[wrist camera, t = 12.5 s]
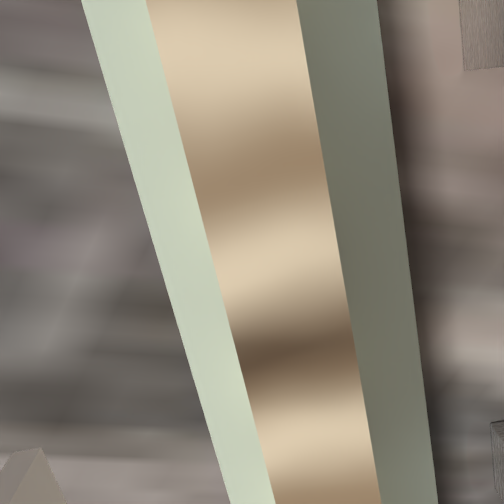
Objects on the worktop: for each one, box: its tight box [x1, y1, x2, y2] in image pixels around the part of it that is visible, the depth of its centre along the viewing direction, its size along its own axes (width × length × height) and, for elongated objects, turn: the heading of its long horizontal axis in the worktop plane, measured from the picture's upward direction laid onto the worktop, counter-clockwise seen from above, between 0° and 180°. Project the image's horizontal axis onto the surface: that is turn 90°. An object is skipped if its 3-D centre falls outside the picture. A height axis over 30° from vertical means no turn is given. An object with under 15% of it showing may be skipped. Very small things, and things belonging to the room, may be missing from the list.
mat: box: [81, 0, 438, 504], centre depth 21 cm, size 32×10×1 cm, turn 12°
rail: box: [145, 0, 381, 504], centre depth 18 cm, size 28×4×4 cm, turn 12°
